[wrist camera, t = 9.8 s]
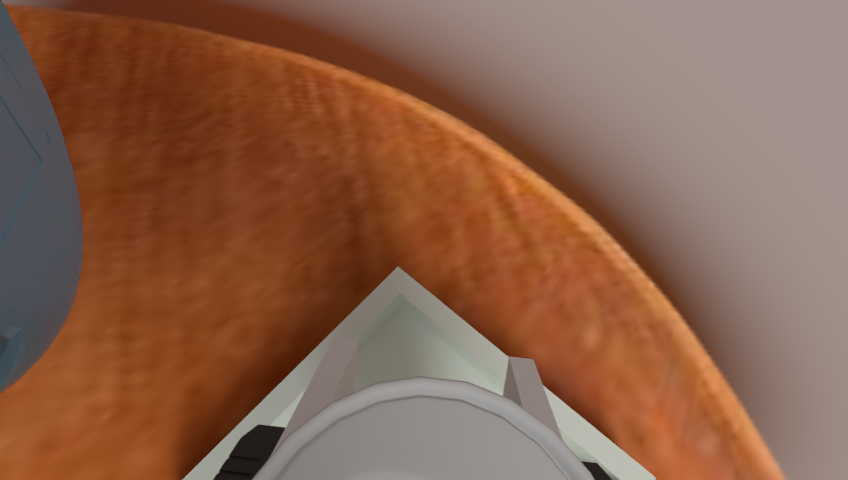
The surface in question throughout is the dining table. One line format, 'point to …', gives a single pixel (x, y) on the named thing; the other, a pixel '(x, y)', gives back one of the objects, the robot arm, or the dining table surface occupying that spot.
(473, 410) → the beverage can
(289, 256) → the dining table surface
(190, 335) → the dining table surface
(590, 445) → the tray
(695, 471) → the dining table surface
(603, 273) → the dining table surface
